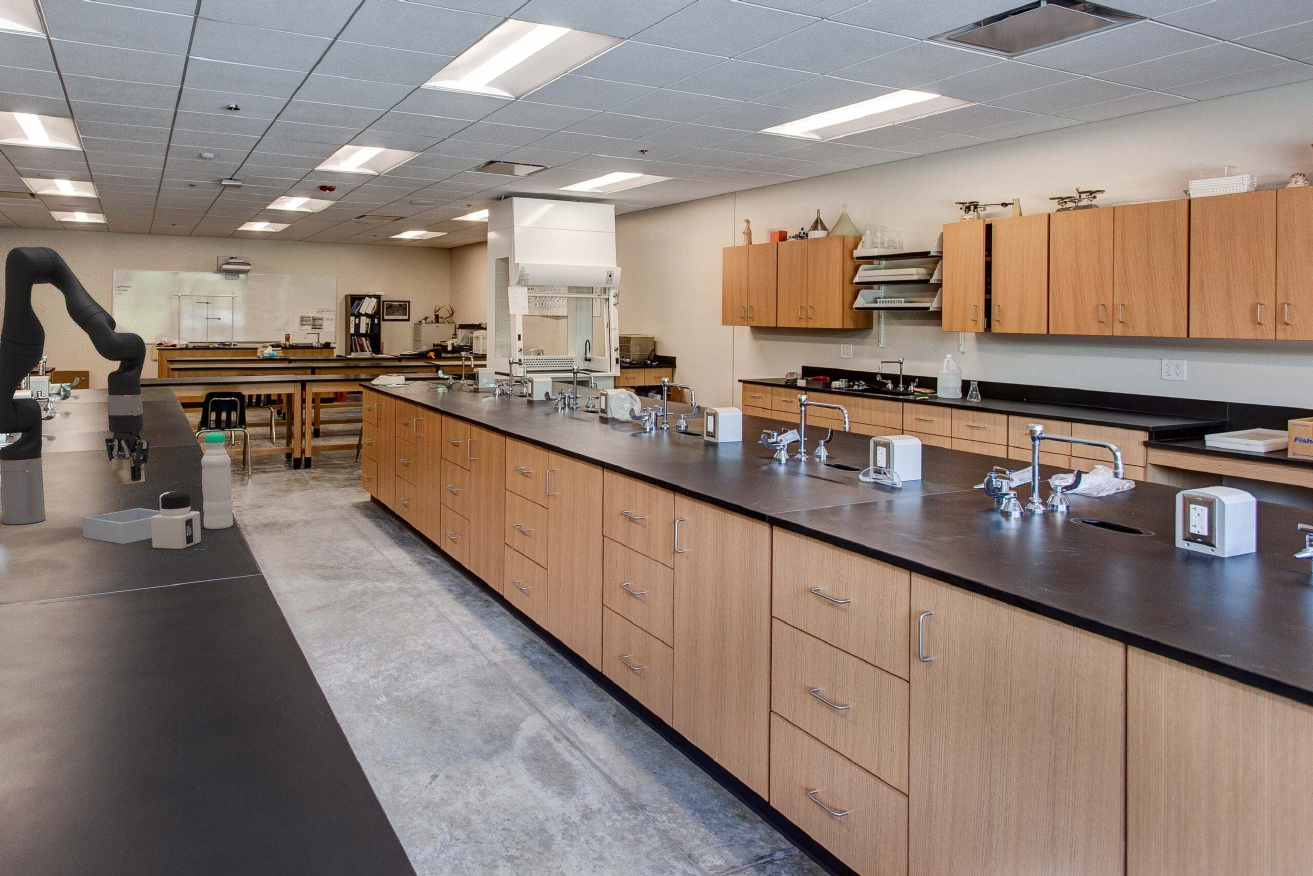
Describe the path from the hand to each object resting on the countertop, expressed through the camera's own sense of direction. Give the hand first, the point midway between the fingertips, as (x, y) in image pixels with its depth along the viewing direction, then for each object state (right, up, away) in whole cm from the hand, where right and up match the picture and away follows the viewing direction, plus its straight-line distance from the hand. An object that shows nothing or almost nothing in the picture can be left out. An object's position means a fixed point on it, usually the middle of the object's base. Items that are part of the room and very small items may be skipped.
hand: (129, 479), depth 225 cm
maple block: (0, -1, 0) cm, 1 cm away
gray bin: (0, -14, +2) cm, 14 cm away
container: (+17, -16, -8) cm, 24 cm away
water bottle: (+17, -13, +13) cm, 25 cm away
